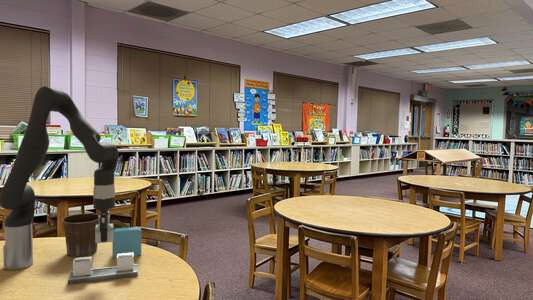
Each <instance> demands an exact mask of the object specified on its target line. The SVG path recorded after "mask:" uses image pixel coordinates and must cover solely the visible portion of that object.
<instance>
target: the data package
mask: <svg viewBox="0 0 533 300" xmlns="http://www.w3.org/2000/svg"><path fill="white" fill-rule="evenodd" d="M111 243H112V246H111V247H112V252H111V253H112V257H113V258H115V259H117V254H122V253H132V252H134V257H137V256H140V255H141V254H142V229H141V227H140V226H134V227H133V226H132V227H119V228H115V229H114V228H113V242H111Z"/></svg>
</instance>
